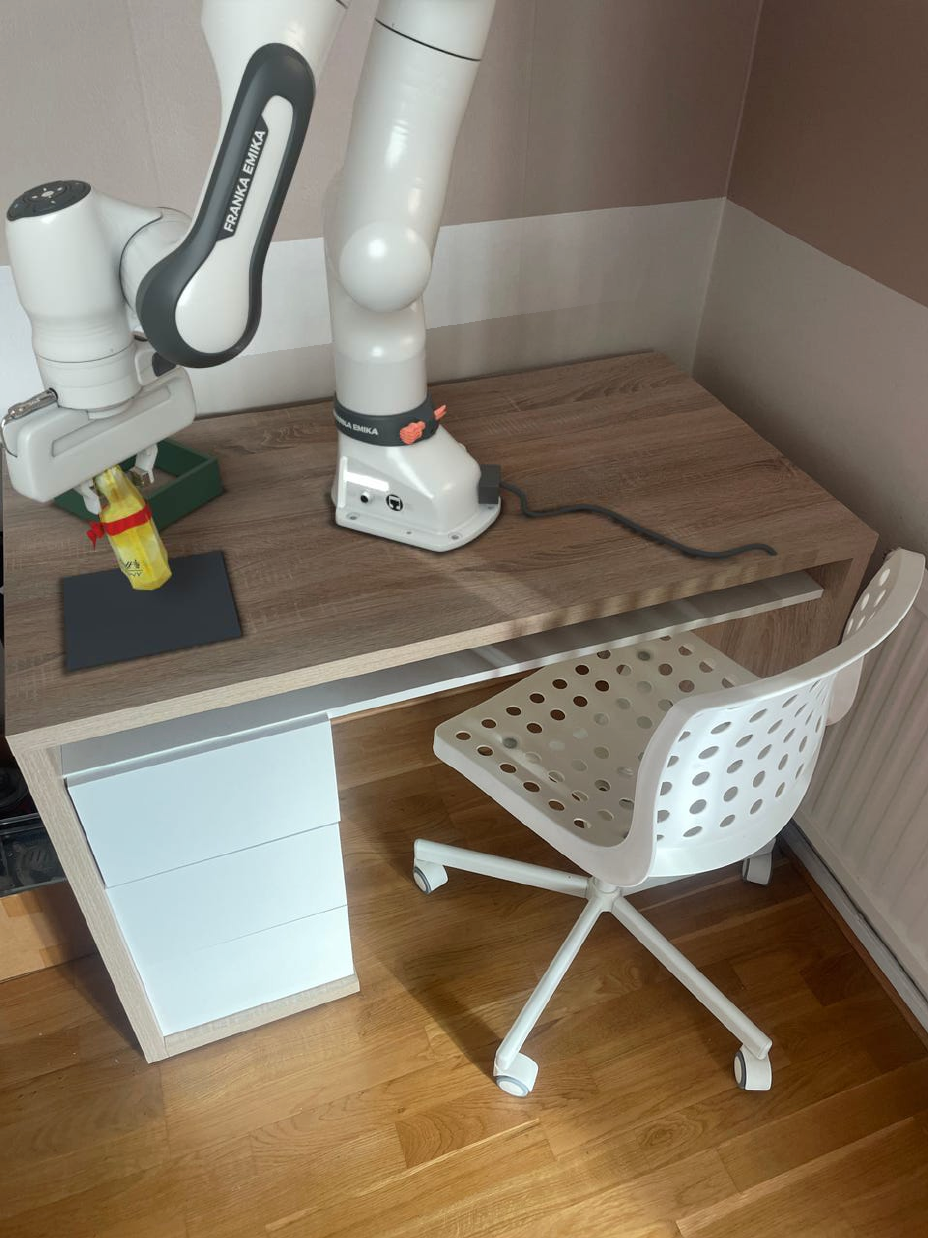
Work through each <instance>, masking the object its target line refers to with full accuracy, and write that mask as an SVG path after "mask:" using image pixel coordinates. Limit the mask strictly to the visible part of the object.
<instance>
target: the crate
mask: <svg viewBox="0 0 928 1238" xmlns="http://www.w3.org/2000/svg"><path fill="white" fill-rule="evenodd" d="M156 444H157V449H158V452H157V455H156V459H155V462H154V465H153V466H156V467H158V468H160V469H162V470H164V471H166V472H169V473H171V474H173V475H176V476H178V477H176V478H174V479H172V480H171V481H169V482H168V483H166V484H164V485H162V486H160V487H159V488H156V489H155V490H154V491H151V492H150V493H148V494H147V495H145V496H142V498H144V499H145V500H146V501H147V503H148V505H149V507H150V510H151V514H152V516H151V517H152V519H153V521H154V524H155V526H156V529H157V531H158V532H160V531H162V530H163V529H165V528H166V527H167V526H169V525H171V524H173V523H174V522H176V521H178V520H179V519H181V518H183V517H184V516H186V515H187V514H188V515H189V514H190V512H192V511H194V510H196V509H198V508H199V507H201V506H202V505H204V504H206V503H207V502H209V501H211V500H212V499H213V498H215V497H217V496H218V495H220V494H222V493H223V492H224V488H223V482H222V477H221V471H220V470H221V469H220V464H219V458H217V457H216V456H213V455H210V454H208V453H205V452H203V451H201V450H198V449H196V448H194V447H191V446H189V445H186V444H184V443H182V442H180V441H178V440H175V439H173V438H171V437H167V438H165V439H163V440H161V441H159V442H158V443H156ZM136 457H137V454H135V455H133V456H131V457H130V458H128V459H126V460H124V461H122V462H120V463H119V466H120V468H121V470H122V471H123V472H124V471H126V470H128V469H131V468H133V467H134V466H135V463H136ZM92 479H93V477H92ZM93 483H94V480H93ZM89 488H90V489H91V490H93V489H94V485H93V486H91V487H89ZM53 499H54V503H55V505H57V506H59V507H61V508H63V509H64V510H66V511H68V512H71V513H72V514H75V515H77V516H78V517H80V518H83V519H84V520H86V521H88V522H90V521H92V522H95V523H99V524H100V522H99V519H98V514H94V513H92V512H90V511H89V510H88V509H87V508H86V505H85V502H84V498H83V496H82V495H80V494H79V493H78V492H77V491H76V490H74V489H73V488H72V489H70V490H68V491H66V492H64V493H63V494H61V495H59V496H57V497H55V498H53Z"/></svg>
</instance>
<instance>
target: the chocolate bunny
mask: <svg viewBox="0 0 928 1238" xmlns="http://www.w3.org/2000/svg"><path fill="white" fill-rule="evenodd" d="M93 480H94V487H93V489H96V490H98V491H99V492H101V493H103V494H104V495H105V496H106V497H107V499H108V500H107V503H108V504H109V508H107V509H106V510H104V511H102V512H100V513H99V514H98V519H99V522H100V524H99V523H95V522H92V521H89V525H90V529H89V530H86V536H87V537H88V539H89V540H90V541H91V542H92V547H93V550H95V549H96V544H97V539H100V540H101V539H103V537H104V535H105V534H106V537H107V539H108V541H109V544H110V546H111V548H112V551H113V553H114V555H115V558H116V560H117V563H118V566H119V568H121V570H122V572H123V573H124V574H125V575H126V576H127V577H128V578H129V580H130V582H131V584H132V586H133V588H134V589H136V590H153V589H156V588H159V587H160V586H162V585H163V584H164V583H165V582H166V581H167V580H168V579H169V578H170V577H171V575H172V573H171V570H170V567H169V565H168V560H169V557H168V551H167V549H166V547H165V545H164V542H163V540H162V539H161V536H160V534H159V531H157V529H156V526H155V524H154V521H153V519H152V517H151V516H152V514H151V510H150V507H149V505H148V503H147V501H146V500H145V499H144V498H143V495H142V494H141V493H140V491H139V490H138V489H137V486H135V485H134V484H133V482H132V479H131V478H129V476H128V475H127V473H125V472H124V471H122V470H121V468H120V466H119V463H118V464H117V465H115V466H113V467H111V468H109V469H107V470H105V471H103V472H102V473H100V474H98V475H96V476H94V477H93Z"/></svg>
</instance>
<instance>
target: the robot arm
mask: <svg viewBox="0 0 928 1238" xmlns="http://www.w3.org/2000/svg"><path fill="white" fill-rule="evenodd" d="M497 1H498V0H378V3H377V7H376V11H375V15H374V18H373V22H372V25H371V31H370V35H369V39H368V43H367V47H366V51H365V55H364V59H363V64H362V67H361V71H360V75H359V80H358V84H357V88H356V92H355V95H354V100H353V105H352V112H351V120H350V127H349V132H348V137H347V138H348V139H347V145H346V151H345V156H344V162H343V166H341V167H340V168H339V169H337V170H336V172H335V173H334V175H333V176H332V178H331V179H330V181H329V182H328V184H327V186H326V188H325V191H324V193H323V196H322V200H321V205H320V206H321V207H320V208H321V209H320V218H321V230H322V242H323V253H324V263H325V264H324V265H325V277H326V284H327V285H326V287H327V296H328V297H327V298H328V299H327V300H328V305H329V306H328V308H329V319H330V328H331V329H330V330H331V342H332V356H333V366H334V367H333V368H334V369H333V370H334V382H335V390H334V393H333V398H332V400H333V409H332V412H333V419H334V420H333V421H334V425H335V427H336V428H337V453H336V454H337V455H336V467H335V473H334V477H333V483H332V486H331V490H330V497H331V500H332V503H333V505H334V506H335V516H334V517H335V523H336V524H337V525H339V526H341V527H344V528H347V529H352V530H354V531H359V532H362V533H366V534H371V535H374V536H377V537H381V538H385V539H389V540H392V541H396V542H400V543H404V544H407V545H410V546H414V547H418V548H421V549H425V550H429V551H433V552H439V553H444V552H447V551H452V550H454V549H457V548H460V547H462V546H464V545H466V544H468V543H469V542H472V541H473V540H474V539H476V538H477V537H479V536H480V535H481V534H482V533H484V532H485V531H486V530H487V529H488V528H489V527H490V526H491V525H492V524H493V523H494V522H495V521H496V519H498V516H499V515H500V512H501V509H502V502H501V497H500V488H502V489H504V490H507V491H509V492H511V493H513V494H515V495H517V496H518V498H519V499H520V509H521V511H522V513H524V515H526V516H528V517H531V518H539V517H544V516H550V515H559V514H565V513H571V512H574V511H582V510H583V511H584V510H585V511H593V512H596V513H601V514H604V515H606V516H609V517H611V518H613V519H615V520H617V521H618V522H620V523H622V524H624V525H625V526H627V527H629V528H631V529H633V530H635V531H637V532H639V533H642V534H644V535H646V536H648V537H650V538H653V539H656V540H658V541H659V542H661V543H664V544H666V545H668V546H670V547H672V548H674V549H677V550H679V551H681V552H684V553H687V554H690V555H692V556H693V555H694V556H696V557H702V558H708V559H722V558H728V557H731V556H735V555H739V554H741V553H744V552H748V551H752V550H753V551H754V550H761V551H765V552H766V553H768V554H769V555H771V556H774V557H775V556H778V555H779V554H778V552H777V551H776V550H775V549H774V548H773V547H772V546H770V545H768V544H765V543H759V542H757V543H749V544H745V545H742V546H739V547H735V548H733V549H729V550H725V551H716V552H715V551H706V550H700V549H696V548H692V547H689V546H687V545H684V544H681V543H679V542H677V541H675V540H672V539H671V538H668V537H667V536H664V535H662V534H660V533H658V532H656V531H654V530H651V529H648V528H646V527H644V526H642V525H639V524H638V523H636V522H634V521H632V520H630V519H629V518H626V517H625V516H623V515H621V514H620V513H618V512H615V511H613V510H610V509H609V508H605V507H603V506H599V505H594V504H590V503H589V504H587V503H579V504H572V505H568V506H565V507H561V508H558V509H555V510H552V511H547V512H536V511H533V510H531V509H529V508H528V506H527V505H528V504H527V503H528V502H527V496H526V495H525V493H524V492H523V491H522V490H521V489H520V488H518V487H516V486H515V485H511V484H509V483H507V482H504V481H502V480H501V464H485V463H484V464H483V463H482V464H480V465H479V463H478V461H477V460H476V459H475V458H474V457H473V456H472V455H471V454H470V453H469V452H468V451H467V449H466V446H465V445H464V444H462V443H461V442H458V441H457V440H456V439H455V438H454V436H452V435H451V433H449V432H448V430H447V429H445V427H444V426H442V424H441V422H440V418H442V417H444V415H445V414H446V413H447V411H445V410H446V408H447V407H446V405H445V404H444V405H441V406H440V407H439V408H437V409H436V405H435V403H434V400H433V396H432V395H431V392H430V390H429V388H428V359H427V358H428V357H427V356H428V355H427V354H428V351H427V349H428V345H427V341H428V340H427V335H428V333H427V324H426V316H425V315H426V314H425V304H424V292H425V291H426V289H427V288H428V285H429V282H430V279H431V276H432V275H431V274H432V269H433V262H434V257H435V251H436V247H437V242H438V237H439V234H440V229H441V224H442V220H443V215H444V210H445V207H446V201H447V197H448V192H449V186H450V180H451V174H452V168H453V163H454V157H455V153H456V149H457V144H458V140H459V137H460V133H461V130H462V126H463V123H464V120H465V117H466V114H467V111H468V106H469V104H470V100H471V97H472V94H473V90H474V88H475V84H476V81H477V77H478V75H479V70H480V68H481V66H482V65H481V64H482V62H483V58H484V54H485V51H486V47H487V44H488V41H489V37H490V32H491V28H492V25H493V21H494V15H495V11H496V6H497V3H498V2H497ZM351 2H352V0H202V2H201V8H200V16H199V21H200V22H199V23H200V29H201V31H202V32H201V33H202V36H203V40H204V44H205V45H206V48H207V51H208V54H209V56H210V59H211V62H212V64H213V68H214V72H215V76H216V79H217V85H218V89H219V95H220V96H219V97H220V124H219V125H220V126H219V132H218V136H217V140H216V144H215V146H214V150H213V153H212V157H211V159H210V163H209V166H208V168H207V172H206V175H205V178H204V182H203V184H202V188H201V191H200V193H199V197H198V200H197V202H196V206H195V210H194V212H193V216H192V217H191V216H190V215H188V214H186V212H183V211H181V210H178V209H176V208H173V207H172V208H171V207H166V206H149V205H145V204H144V205H143V204H138V203H134V202H130V201H126V200H123V199H121V198H118V197H115V196H113V195H110V194H107V193H105V192H103V191H101V190H100V189H97V188H96V187H94V185H91V183H89V182H86V181H83V180H77V179H68V180H67V179H66V180H65V179H64V180H62V179H61V180H59V179H58V180H53V181H51V182H46V183H42V184H39V185H36V186H35V187H32V188H30V189H28V190H26V191H24V192H23V193H22V194H21V195H19V196H18V197H17V198H15V199H14V200H13V202H12V203H11V204H10V206H9V207H8V209H7V211H6V213H5V214H6V215H5V220H4V235H5V244H6V251H7V256H8V261H9V265H10V266H9V267H10V269H11V274H12V278H13V283H14V286H15V290H16V293H17V297H18V300H19V303H20V306H21V307H22V309H23V311H24V312H25V314H26V316H27V317H28V320H29V323H30V326H31V347H32V351H33V354H34V358H35V361H36V365H37V368H38V371H39V375H40V379H41V382H42V387H43V390H44V391H42V392H40V393H38V394H35V395H33V396H32V397H30V398H28V399H27V400H25V401H23V402H18V403H15V404H13V405H11V406H10V407H9V408H8V409H7V413H6V414H5V415H4V416H3V417H2V419H1V422H0V440H1V444H2V446H3V448H4V452H5V461H6V465H7V470H8V475H9V479H10V482H11V485H12V487H13V489H14V490H15V491H16V492H17V493H19V494H20V495H22V496H23V497H26V498H28V499H29V500H32V501H35V502H37V503H40V504H45V503H47V502H50V501H51V500H53V499H54V498H55V497H57V496H59V495H61V494H63V493H64V492H66V491H68V490H70V489H72V488H73V489H74V490H76V491H77V492H78V493H79V494H80V495H82V496H83V498H84V502H85V505H86V508H87V509H88V510H89V511H90V512H92V513H94V514H99V513H100V512H102V511H104V510H106V509H107V508H109V504H108V503H107V500H108V499H107V497H106V496H105V495H104V494H103V493H101V492H99V491H98V490H96V489H94V488H93V490H91V489H90V488H89V487H91V486H93V485H94V483H93V479H92V477H94V476H96V475H98V474H100V473H102V472H103V471H105V470H107V469H109V468H111V467H113V466H115V465H117V464H118V463H120V462H122V461H124V460H126V459H128V458H130V457H131V456H133V455H135V454H137V457H136V463H135V465H134V466H132V467H130V468H129V475H130V476H131V478H130V480H131V481H132V483H133V484H134V486H135V487H139V488H140V489H144V488H146V487H148V486H150V485H151V484H153V483H154V482H155V478H154V473H153V468H154V466H155V465H154V462H155V459H156V455H157V452H158V449H157V444H156V443H158V442H159V441H161V440H163V439H165V438H167V437H168V438H170V437H171V436H173V435H174V434H176V433H178V432H180V431H182V430H183V429H186V428H188V427H189V426H191V425H192V424H193V423H194V420H195V418H196V415H197V403H196V396H195V393H194V389H193V384H192V381H191V378H190V375H189V373H188V371H187V370H186V368H187V369H208V368H215V367H218V366H221V365H224V364H226V363H228V362H230V361H232V360H233V359H235V358H236V357H237V356H239V355H240V354H242V353H243V352H244V351H245V349H246V348H247V347H248V346H249V345H250V344H251V343H252V341H253V339H254V338H255V336H256V334H257V332H258V329H259V326H260V323H261V319H262V311H263V309H262V308H263V277H264V276H263V275H264V268H265V264H266V263H265V262H266V258H267V255H268V252H269V248H270V245H271V243H272V240H273V237H274V234H275V231H276V227H277V225H278V222H279V219H280V216H281V212H282V209H283V206H284V204H285V200H286V198H287V195H288V191H289V189H290V186H291V183H292V180H293V177H294V174H295V171H296V168H297V165H298V162H299V159H300V156H301V152H302V149H303V146H304V143H305V139H306V137H307V133H308V130H309V129H308V128H309V125H310V121H311V116H312V114H313V109H314V105H315V101H316V99H317V94H318V90H319V86H320V83H321V80H322V77H323V74H324V71H325V69H326V66H327V63H328V61H329V58H330V55H331V53H332V51H333V47H334V45H335V42H336V40H337V37H338V35H339V32H340V30H341V27H342V25H343V22H344V21H345V17H346V15H347V13H348V10H349V8H350V5H351ZM139 326H141V329H142V331H139V330H136V328H137V327H139Z"/></svg>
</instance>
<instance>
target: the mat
mask: <svg viewBox="0 0 928 1238" xmlns="http://www.w3.org/2000/svg"><path fill="white" fill-rule="evenodd" d="M168 565H169V567H170V570H171V573H172V575H171V577H170V578H169V579H168V580H167V581H166V582H165V583H164V584H163V585H162V586H160V587H159V588H156V589H153V590H136V589H134V588H133V586H132V584H131V582H130V580H129V578H128V577H127V576H126V575H125V574H124V573H123V572H122V570H121V568H120V567H119V568H113V569H108V570H102V571H96V572H90V573H85V574H79V575H73V576H67V577H63V578H62V581H63V583H62V585H63V607H64V626H65V627H64V629H65V630H64V631H65V651H66V652H65V653H66V670H67V671H68V672H71V671H77V670H80V669H86V668H91V667H97V666H101V665H105V664H111V663H116V662H121V661H125V660H130V659H131V660H132V659H135V658H141V657H145V656H151V655H156V654H160V653H161V654H162V653H165V652H172V651H176V650H181V649H187V648H191V647H196V646H201V645H205V644H206V645H207V644H211V643H216V642H220V641H221V642H222V641H226V640H231V639H235V638H236V639H237V638H241V637H243V635H242V631H241V626H240V621H239V618H238V614H237V610H236V606H235V603H234V602H235V601H234V598H233V594H232V590H231V586H230V582H229V578H228V574H227V569H226V566H225V563H224V558H223V554H222V551H221V550H220V549H219V550H214V551H208V552H204V553H203V552H202V553H198V554H192V555H187V556H181V557H175V558H170V559H169V558H168Z"/></svg>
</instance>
